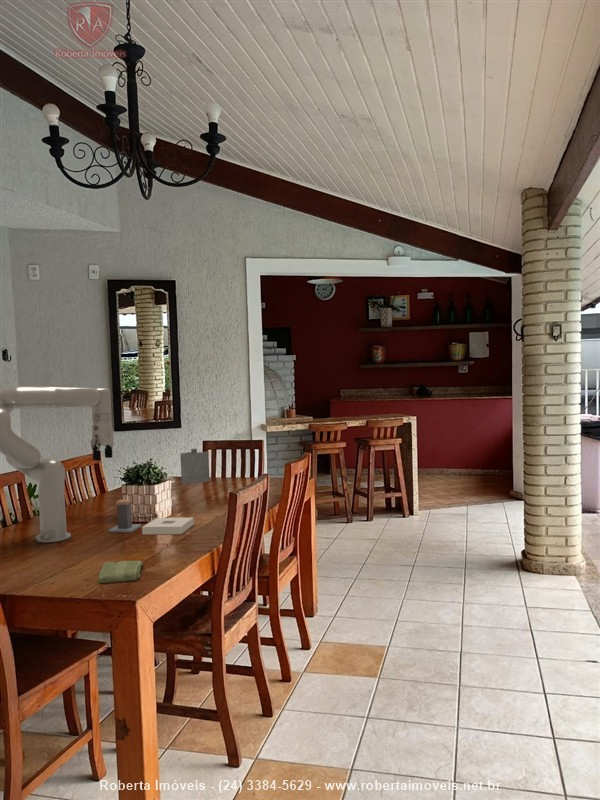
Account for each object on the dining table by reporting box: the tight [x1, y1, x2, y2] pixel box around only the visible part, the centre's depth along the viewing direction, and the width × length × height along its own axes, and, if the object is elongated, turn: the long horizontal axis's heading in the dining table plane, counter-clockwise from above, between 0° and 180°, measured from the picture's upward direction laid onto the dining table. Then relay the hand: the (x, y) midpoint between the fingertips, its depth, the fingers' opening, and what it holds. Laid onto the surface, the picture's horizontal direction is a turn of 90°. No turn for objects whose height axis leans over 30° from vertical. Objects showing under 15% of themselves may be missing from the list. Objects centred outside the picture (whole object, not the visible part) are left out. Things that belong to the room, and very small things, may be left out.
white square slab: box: [141, 517, 195, 536], centre depth 268 cm, size 16×16×3 cm
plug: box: [115, 499, 133, 529], centre depth 272 cm, size 4×4×11 cm
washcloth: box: [98, 560, 144, 584], centre depth 210 cm, size 13×18×3 cm
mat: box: [107, 523, 142, 533], centre depth 272 cm, size 10×10×1 cm
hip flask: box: [179, 448, 211, 485], centre depth 380 cm, size 16×4×20 cm, turn 92°
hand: (102, 459), depth 275 cm, fingers open, 9 cm apart
